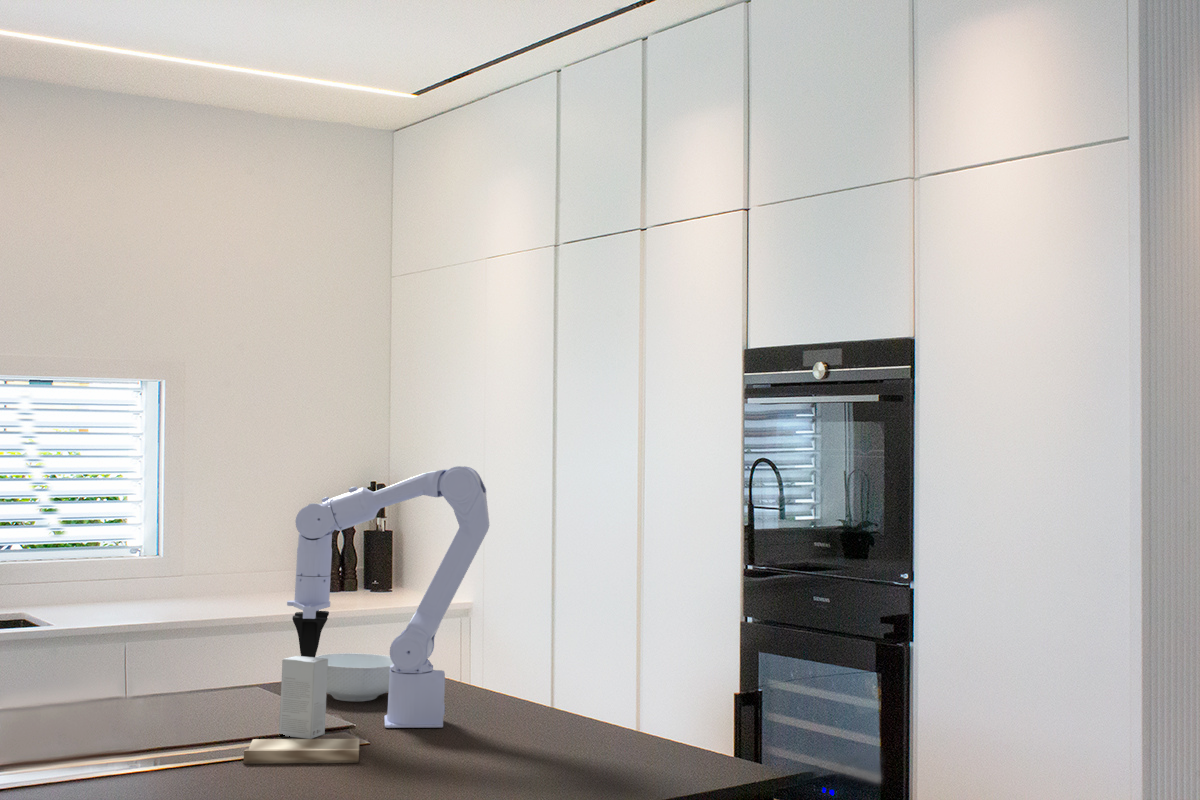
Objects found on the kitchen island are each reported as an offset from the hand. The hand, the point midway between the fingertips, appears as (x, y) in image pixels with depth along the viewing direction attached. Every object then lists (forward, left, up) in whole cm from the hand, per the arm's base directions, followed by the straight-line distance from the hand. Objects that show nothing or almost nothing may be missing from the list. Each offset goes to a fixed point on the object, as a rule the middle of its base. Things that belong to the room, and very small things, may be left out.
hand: (308, 656), depth 194 cm
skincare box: (0, +11, -11) cm, 15 cm away
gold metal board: (-1, +22, -10) cm, 24 cm away
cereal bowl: (-8, -19, -11) cm, 23 cm away
